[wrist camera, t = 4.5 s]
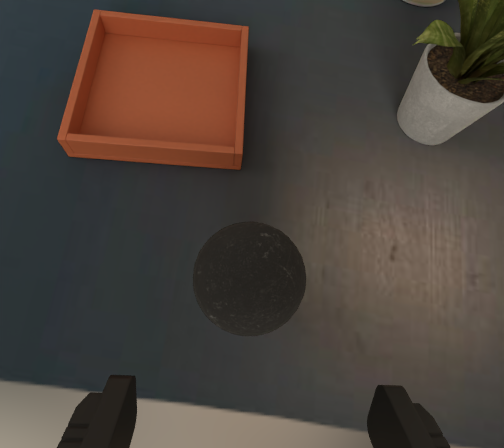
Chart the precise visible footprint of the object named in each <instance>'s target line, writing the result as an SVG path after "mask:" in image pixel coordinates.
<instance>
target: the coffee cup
mask: <svg viewBox="0 0 504 448" xmlns="http://www.w3.org/2000/svg"><path fill="white" fill-rule="evenodd" d="M402 1H404V2H407V3H409V4H412V5H416V6H423V7H429V6H435V5H439V4H441V3H442V2H444V1H445V0H402Z"/></svg>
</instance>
